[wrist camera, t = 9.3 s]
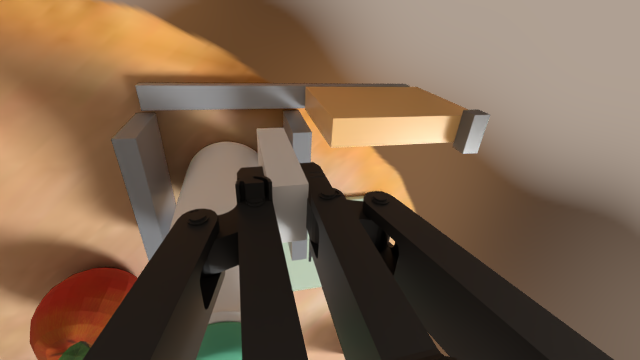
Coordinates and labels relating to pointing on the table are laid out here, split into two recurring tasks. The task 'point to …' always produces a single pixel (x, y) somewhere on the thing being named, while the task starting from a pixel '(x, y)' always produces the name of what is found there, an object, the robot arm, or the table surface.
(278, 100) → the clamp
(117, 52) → the table surface
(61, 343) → the fruit
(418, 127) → the tan wooden slab
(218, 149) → the milk bottle
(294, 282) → the mat
